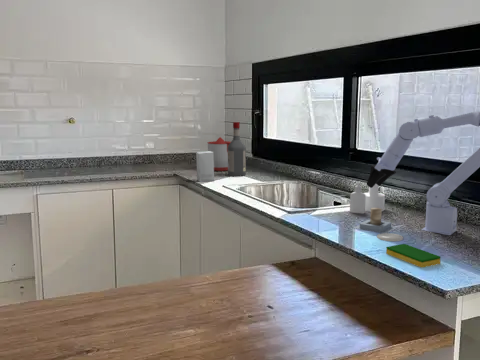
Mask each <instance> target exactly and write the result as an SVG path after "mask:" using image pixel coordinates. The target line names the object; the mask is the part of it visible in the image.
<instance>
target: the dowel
mask: <svg viewBox="0 0 480 360" xmlns="http://www.w3.org/2000/svg"><path fill="white" fill-rule="evenodd" d="M382 212H383V211H382V209H381V208H371V212H370V216H369V218H370V224H371V225H378V226H380V225H381V221H382Z"/></svg>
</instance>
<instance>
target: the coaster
mask: <svg viewBox="0 0 480 360" xmlns="http://www.w3.org/2000/svg"><path fill="white" fill-rule="evenodd" d="M376 238H377V239H378V240H381V241H385V242H400V241H403V240H404V236H402V235H401V234H398V233H393V232H392V233H390V232H389V233H379V234H377V235H376Z"/></svg>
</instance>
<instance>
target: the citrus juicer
mask: <svg viewBox="0 0 480 360" xmlns="http://www.w3.org/2000/svg"><path fill="white" fill-rule="evenodd" d="M230 143H231V141H230V140H229V141H228V140H224V139H223V138H222V137H221V136H220V137H218V138H217V139H216V141H215V140H213V141H208V142H207V151H211V152H213V160H214V172H215V171H217V172H218V171H219V172H224V171H228V145H229V144H230Z"/></svg>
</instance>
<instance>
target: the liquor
mask: <svg viewBox="0 0 480 360" xmlns="http://www.w3.org/2000/svg"><path fill="white" fill-rule="evenodd" d="M232 129H233V137H232V140H231V141H230V142H231V143H230V144H229V145H228V170H227V175H228V176H230V177H233V178H235V177H237V178H239V177H245V176H246V175H247V174H246V173H247V171H246V169H247V166H246V164H247V163H246V162H247V159H246V152H247V151H246V145H245V144H244V143H243V141H242V140H241V138H240V121H233V123H232Z"/></svg>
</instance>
